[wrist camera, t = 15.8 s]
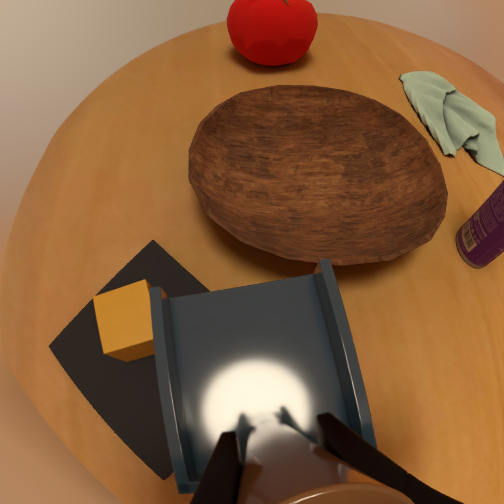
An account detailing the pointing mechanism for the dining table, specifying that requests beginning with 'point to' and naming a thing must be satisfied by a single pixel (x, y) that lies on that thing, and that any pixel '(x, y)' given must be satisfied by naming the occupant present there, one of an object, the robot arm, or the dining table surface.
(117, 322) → the block
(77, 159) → the dining table surface
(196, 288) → the mat
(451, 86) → the cloth
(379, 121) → the bowl
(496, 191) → the container
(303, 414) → the tray with wooden peg
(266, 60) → the tomato
